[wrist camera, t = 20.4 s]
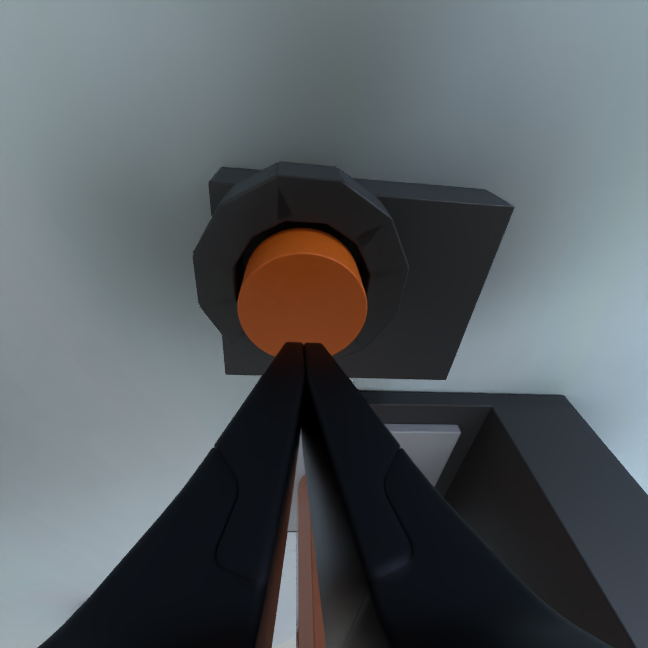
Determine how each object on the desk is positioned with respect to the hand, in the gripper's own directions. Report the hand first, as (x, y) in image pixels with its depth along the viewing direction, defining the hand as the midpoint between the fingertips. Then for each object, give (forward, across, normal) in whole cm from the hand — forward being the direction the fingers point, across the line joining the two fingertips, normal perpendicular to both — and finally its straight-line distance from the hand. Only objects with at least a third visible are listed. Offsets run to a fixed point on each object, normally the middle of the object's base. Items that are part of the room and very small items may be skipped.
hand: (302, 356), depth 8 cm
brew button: (+4, 0, 0) cm, 4 cm away
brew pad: (+7, -2, +2) cm, 8 cm away
